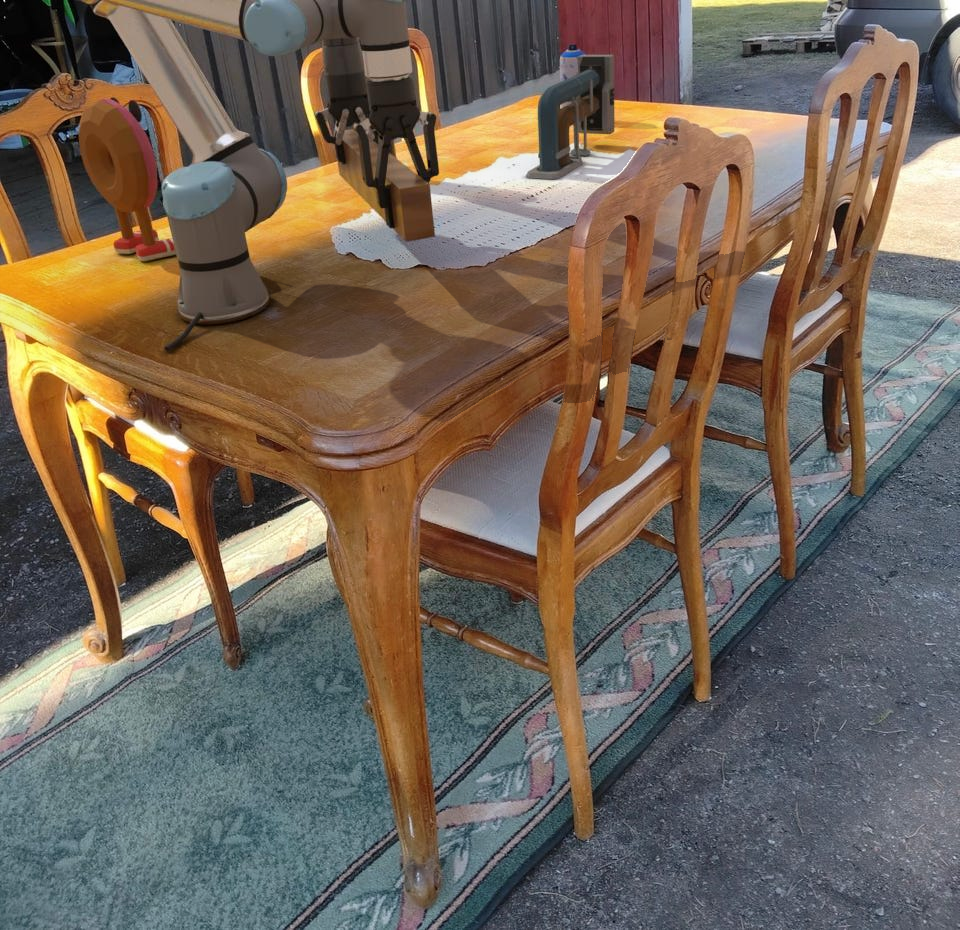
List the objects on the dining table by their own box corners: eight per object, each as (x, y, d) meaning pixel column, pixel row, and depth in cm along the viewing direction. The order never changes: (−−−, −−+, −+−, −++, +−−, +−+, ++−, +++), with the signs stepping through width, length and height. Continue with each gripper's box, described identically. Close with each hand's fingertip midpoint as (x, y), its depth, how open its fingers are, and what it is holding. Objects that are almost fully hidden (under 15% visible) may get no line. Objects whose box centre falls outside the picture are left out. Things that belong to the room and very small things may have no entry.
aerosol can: (559, 122, 275) (557, 47, 265) (562, 117, 282) (559, 42, 272) (587, 121, 274) (585, 45, 263) (589, 115, 280) (587, 41, 270)
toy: (199, 253, 194) (163, 96, 179) (154, 268, 188) (113, 106, 173) (144, 236, 207) (106, 89, 192) (101, 250, 201) (58, 98, 186)
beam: (435, 236, 157) (429, 183, 153) (405, 242, 156) (399, 188, 152) (363, 171, 200) (357, 128, 195) (339, 174, 199) (333, 131, 194)
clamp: (557, 179, 222) (554, 81, 212) (523, 177, 226) (518, 80, 215) (614, 143, 248) (614, 54, 237) (583, 142, 252) (581, 54, 241)
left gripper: (437, 66, 157) (450, 208, 168) (328, 81, 152) (350, 226, 164) (451, 72, 150) (464, 219, 162) (337, 88, 146) (360, 238, 158)
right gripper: (376, 62, 187) (387, 152, 195) (303, 72, 183) (317, 163, 192) (386, 67, 181) (397, 159, 189) (310, 77, 177) (325, 171, 186)
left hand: (406, 222), depth 163 cm, fingers closed on beam, 5 cm apart
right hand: (357, 160), depth 191 cm, fingers closed on beam, 5 cm apart
